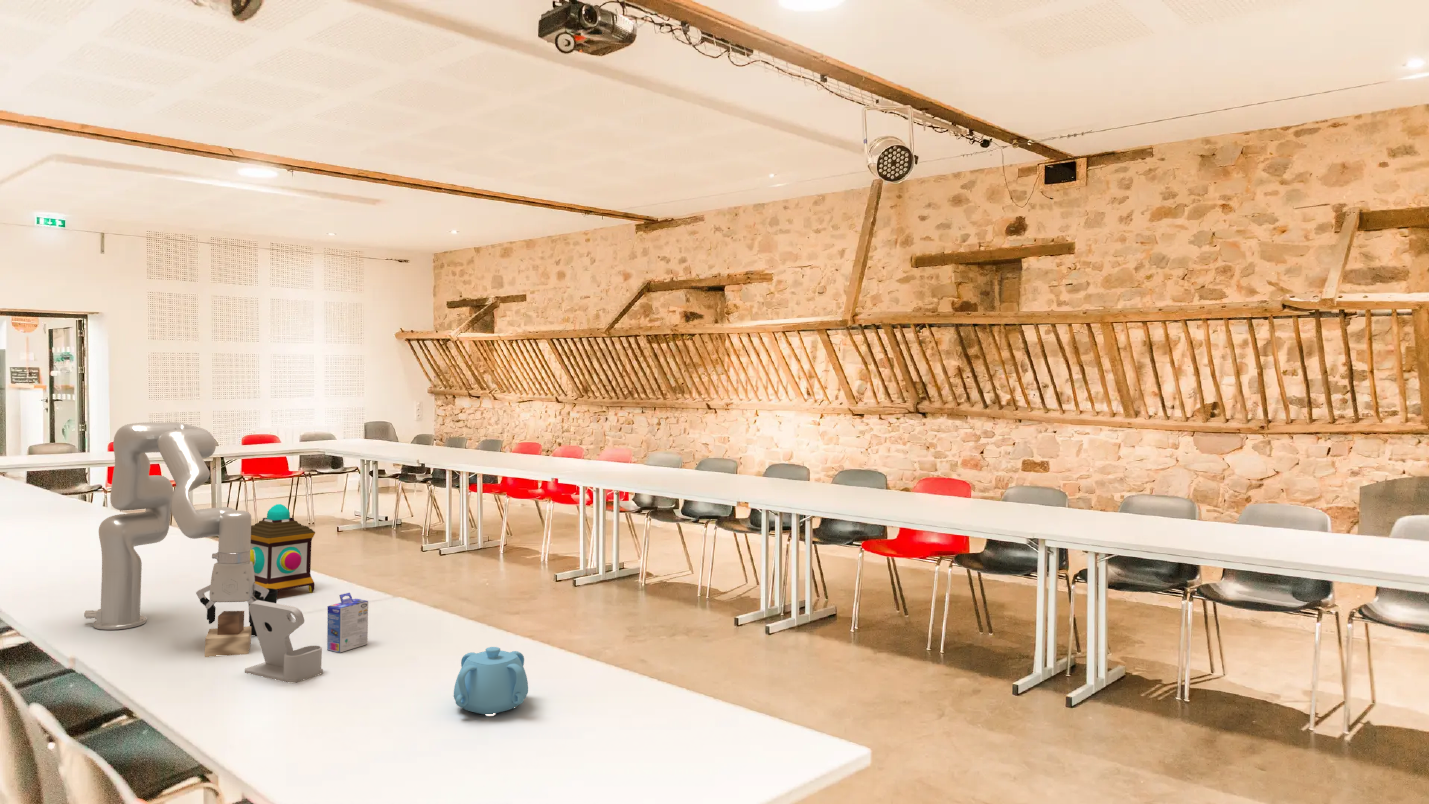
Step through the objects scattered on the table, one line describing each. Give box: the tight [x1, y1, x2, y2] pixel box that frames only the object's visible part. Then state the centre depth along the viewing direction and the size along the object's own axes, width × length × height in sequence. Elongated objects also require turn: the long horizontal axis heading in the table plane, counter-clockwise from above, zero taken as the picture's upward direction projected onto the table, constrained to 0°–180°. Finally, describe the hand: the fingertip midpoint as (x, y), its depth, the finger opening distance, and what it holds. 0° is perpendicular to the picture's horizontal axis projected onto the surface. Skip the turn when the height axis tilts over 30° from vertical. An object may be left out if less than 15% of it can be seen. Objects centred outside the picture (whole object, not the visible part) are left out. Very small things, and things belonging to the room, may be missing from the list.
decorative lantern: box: [250, 503, 316, 594], centre depth 299 cm, size 20×20×30 cm
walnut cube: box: [217, 610, 245, 635], centre depth 237 cm, size 5×5×5 cm
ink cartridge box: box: [326, 592, 369, 653], centre depth 243 cm, size 10×6×14 cm, turn 155°
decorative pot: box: [453, 646, 529, 715], centre depth 203 cm, size 16×16×14 cm
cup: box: [247, 588, 279, 637], centre depth 252 cm, size 8×8×12 cm
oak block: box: [204, 625, 252, 658], centre depth 236 cm, size 10×10×5 cm
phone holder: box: [244, 600, 324, 683], centre depth 221 cm, size 17×10×18 cm, turn 67°
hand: (231, 621), depth 237 cm, fingers open, 9 cm apart
